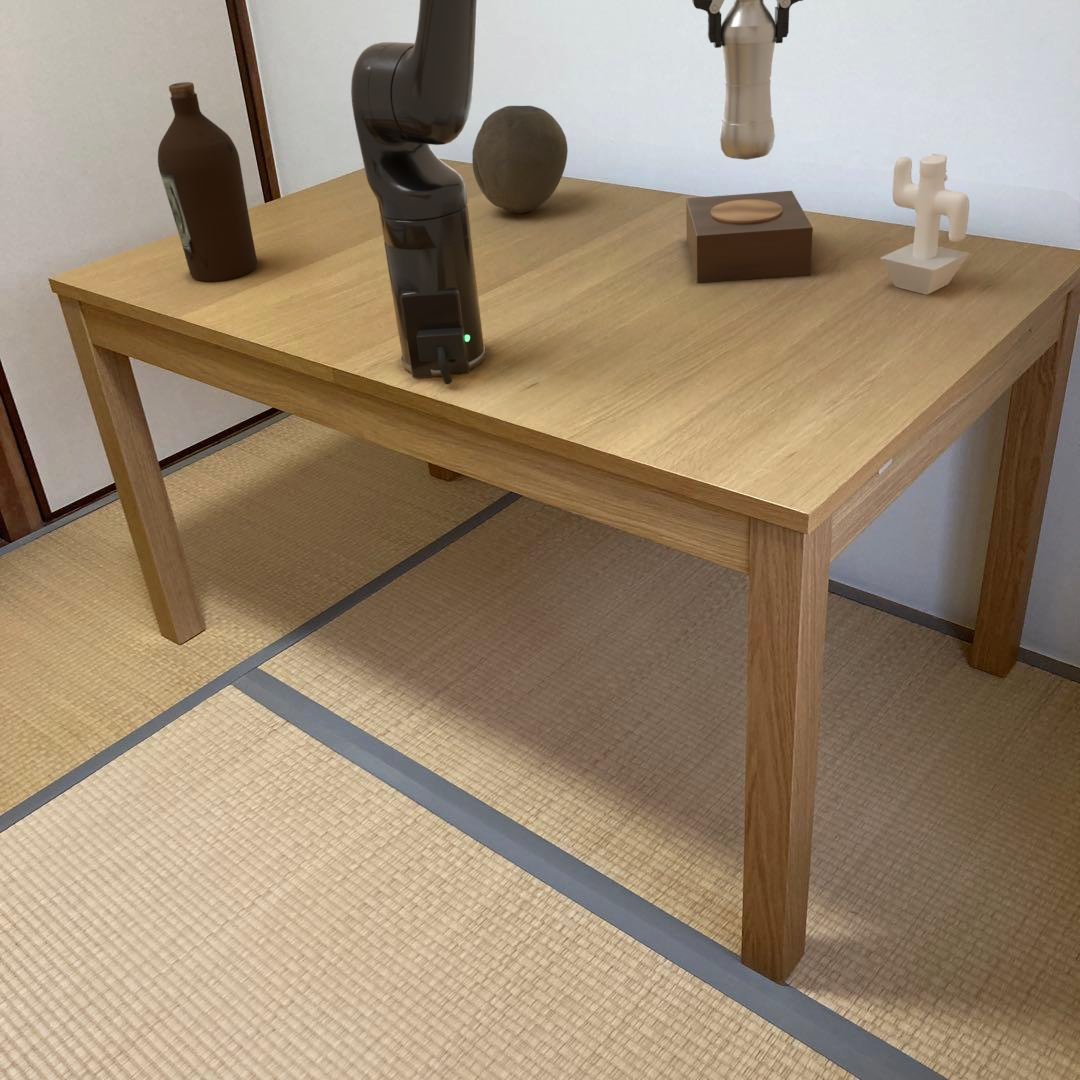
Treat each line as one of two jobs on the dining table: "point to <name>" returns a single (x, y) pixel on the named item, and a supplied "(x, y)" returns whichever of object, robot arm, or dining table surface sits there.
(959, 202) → the figurine
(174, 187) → the olive oil
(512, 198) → the cantaloupe
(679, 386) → the dining table surface
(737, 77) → the metal bottle
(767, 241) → the walnut box
